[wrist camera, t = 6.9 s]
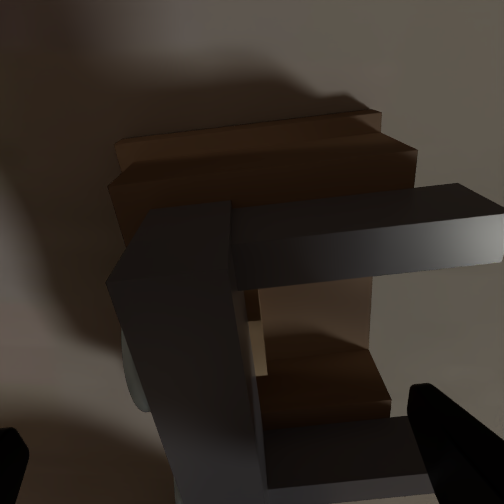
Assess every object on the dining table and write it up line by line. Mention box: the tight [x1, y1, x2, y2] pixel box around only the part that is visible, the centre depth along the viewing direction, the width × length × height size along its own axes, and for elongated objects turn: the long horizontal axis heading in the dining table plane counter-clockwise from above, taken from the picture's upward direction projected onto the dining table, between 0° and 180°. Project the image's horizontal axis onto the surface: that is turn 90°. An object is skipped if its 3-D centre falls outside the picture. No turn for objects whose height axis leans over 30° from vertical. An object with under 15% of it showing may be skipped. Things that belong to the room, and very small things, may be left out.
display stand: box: [107, 109, 418, 431], centre depth 11 cm, size 11×7×3 cm, turn 6°
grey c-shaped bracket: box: [106, 183, 504, 504], centre depth 9 cm, size 9×7×3 cm
